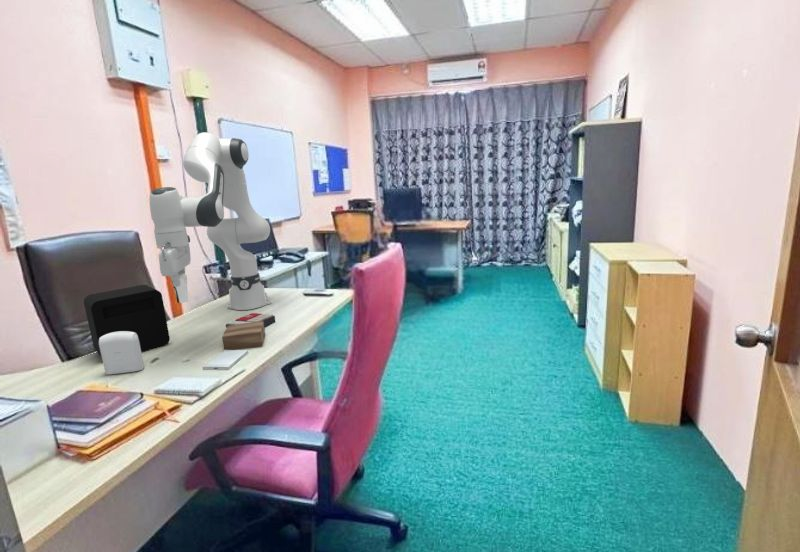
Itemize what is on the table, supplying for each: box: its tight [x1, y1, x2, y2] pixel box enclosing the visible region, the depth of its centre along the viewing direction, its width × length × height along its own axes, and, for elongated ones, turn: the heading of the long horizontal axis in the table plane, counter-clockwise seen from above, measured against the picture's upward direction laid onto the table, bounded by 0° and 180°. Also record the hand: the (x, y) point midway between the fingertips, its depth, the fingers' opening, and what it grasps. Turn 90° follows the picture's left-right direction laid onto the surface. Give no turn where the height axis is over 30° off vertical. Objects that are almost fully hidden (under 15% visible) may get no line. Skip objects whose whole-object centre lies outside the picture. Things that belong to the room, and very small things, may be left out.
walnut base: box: [221, 321, 266, 351], centre depth 147 cm, size 12×12×5 cm
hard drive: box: [202, 349, 249, 371], centre depth 132 cm, size 2×8×12 cm
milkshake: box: [170, 272, 189, 304], centre depth 138 cm, size 4×5×10 cm
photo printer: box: [99, 331, 145, 376], centre depth 128 cm, size 10×4×12 cm, turn 100°
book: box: [225, 312, 276, 329], centre depth 163 cm, size 11×4×15 cm
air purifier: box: [83, 284, 171, 358], centre depth 146 cm, size 20×15×20 cm
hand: (179, 284), depth 137 cm, fingers closed on milkshake, 4 cm apart
